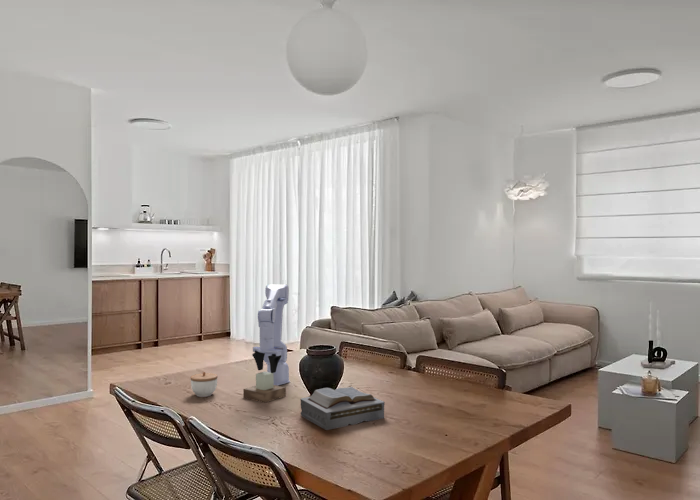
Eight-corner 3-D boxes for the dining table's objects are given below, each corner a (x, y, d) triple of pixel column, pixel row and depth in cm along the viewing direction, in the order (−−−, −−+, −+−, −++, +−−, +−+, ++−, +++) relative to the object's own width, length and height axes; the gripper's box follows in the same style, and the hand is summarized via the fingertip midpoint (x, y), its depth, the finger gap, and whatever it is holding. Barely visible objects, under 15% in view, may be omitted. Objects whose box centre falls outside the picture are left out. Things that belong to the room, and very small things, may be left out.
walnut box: (265, 392, 233) (265, 382, 233) (285, 397, 226) (285, 387, 226) (243, 398, 224) (243, 388, 224) (264, 403, 216) (264, 393, 216)
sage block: (264, 386, 228) (264, 371, 228) (273, 387, 225) (273, 373, 225) (256, 388, 224) (255, 373, 224) (264, 390, 221) (264, 375, 221)
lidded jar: (201, 399, 220) (201, 376, 220) (185, 395, 227) (185, 372, 227) (223, 394, 229) (222, 371, 229) (206, 390, 235) (206, 368, 235)
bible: (296, 412, 204) (296, 386, 204) (364, 405, 214) (364, 379, 214) (316, 432, 183) (316, 402, 182) (390, 423, 192) (390, 394, 192)
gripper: (247, 337, 228) (247, 370, 228) (272, 341, 219) (272, 375, 220) (259, 335, 234) (260, 367, 234) (284, 338, 225) (284, 372, 225)
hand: (266, 371), depth 227 cm, fingers open, 7 cm apart
